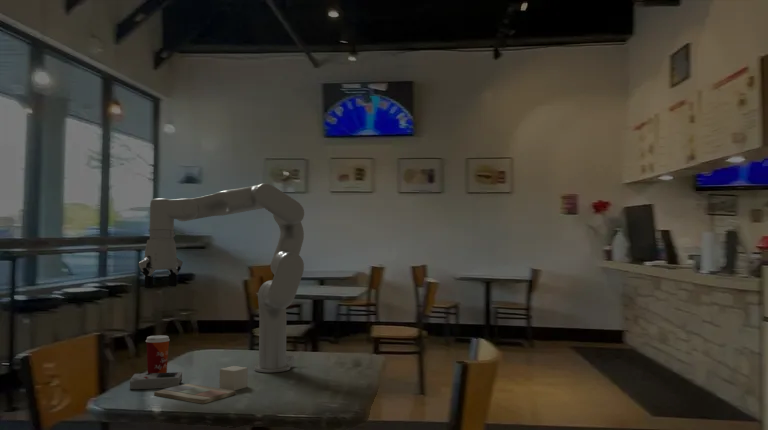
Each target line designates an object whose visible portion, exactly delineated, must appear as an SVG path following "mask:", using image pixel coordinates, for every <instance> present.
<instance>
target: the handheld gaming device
mask: <svg viewBox="0 0 768 430" xmlns="http://www.w3.org/2000/svg"><path fill="white" fill-rule="evenodd" d="M182 382H183V372H182V371H180V372H179V371H178V372H177V371H176V372H167V373H148V372H145V373H134V374H133V375H132V377H131V378H130V380H129V389H130V390H151V389H153V390H154V389H155V390H156V389H166V388H170V387H175V386H179V385H180V383H182Z"/></svg>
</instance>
